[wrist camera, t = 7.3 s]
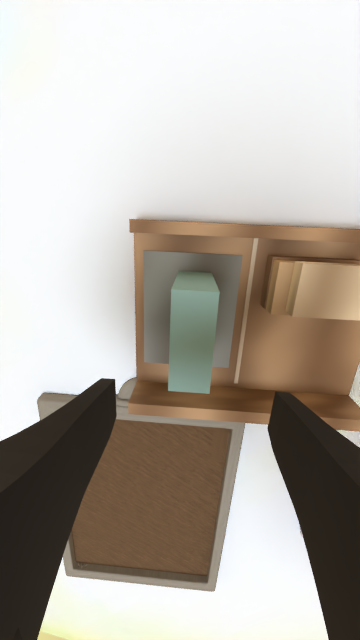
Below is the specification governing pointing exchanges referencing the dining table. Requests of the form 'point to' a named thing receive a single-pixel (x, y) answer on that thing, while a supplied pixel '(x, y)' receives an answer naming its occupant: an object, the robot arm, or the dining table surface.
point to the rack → (242, 324)
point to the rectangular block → (192, 331)
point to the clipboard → (154, 499)
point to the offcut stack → (312, 287)
